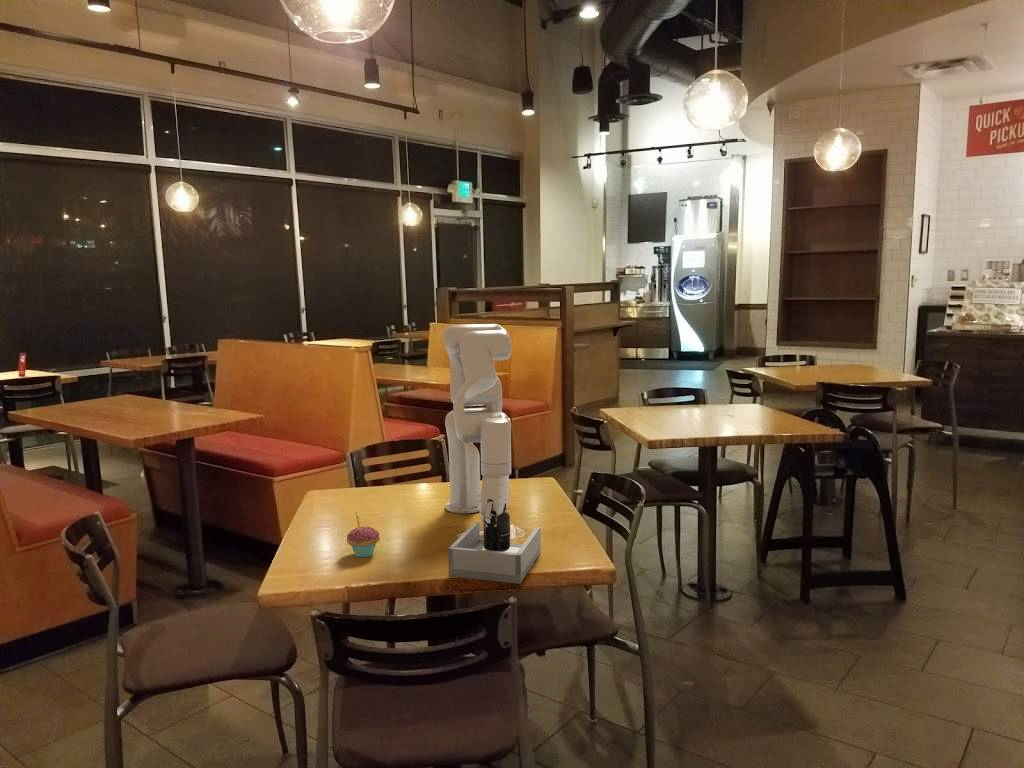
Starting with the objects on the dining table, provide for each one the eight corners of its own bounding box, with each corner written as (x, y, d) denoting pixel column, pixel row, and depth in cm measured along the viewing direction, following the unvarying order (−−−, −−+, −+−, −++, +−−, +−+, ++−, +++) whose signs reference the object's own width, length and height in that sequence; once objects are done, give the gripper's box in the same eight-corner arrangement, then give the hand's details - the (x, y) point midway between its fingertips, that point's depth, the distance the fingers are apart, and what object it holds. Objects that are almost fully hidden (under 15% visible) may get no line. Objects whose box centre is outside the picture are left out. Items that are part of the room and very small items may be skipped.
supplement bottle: (507, 554, 179) (507, 507, 177) (480, 552, 180) (480, 506, 178) (513, 544, 185) (512, 499, 183) (487, 542, 187) (486, 497, 185)
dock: (475, 546, 194) (475, 521, 193) (540, 553, 189) (540, 527, 188) (448, 576, 175) (448, 548, 174) (520, 583, 170) (520, 555, 169)
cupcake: (364, 562, 184) (362, 517, 182) (340, 556, 189) (338, 511, 187) (387, 551, 191) (385, 508, 190) (363, 545, 196) (361, 503, 194)
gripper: (492, 458, 189) (493, 523, 191) (470, 476, 172) (471, 547, 175) (519, 460, 187) (520, 526, 189) (500, 478, 170) (501, 550, 173)
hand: (497, 535), depth 182 cm, fingers closed on supplement bottle, 6 cm apart
